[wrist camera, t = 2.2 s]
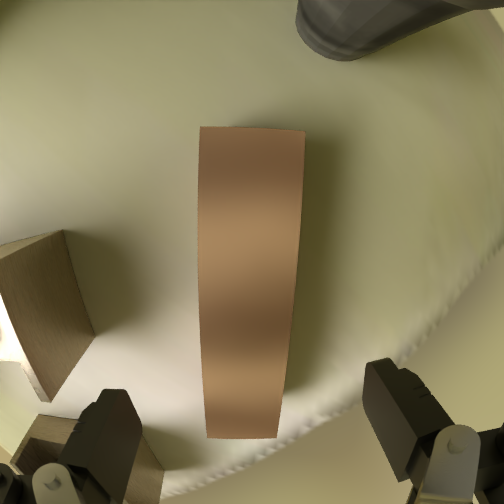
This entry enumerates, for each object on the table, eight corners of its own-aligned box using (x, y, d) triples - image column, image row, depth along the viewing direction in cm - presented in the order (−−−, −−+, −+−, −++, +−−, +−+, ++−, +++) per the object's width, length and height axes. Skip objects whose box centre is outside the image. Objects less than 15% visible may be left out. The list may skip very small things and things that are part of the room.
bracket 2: (164, 471, 21) (155, 528, 15) (72, 461, 21) (54, 507, 15) (135, 423, 19) (115, 490, 13) (38, 414, 19) (9, 462, 13)
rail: (209, 136, 15) (200, 126, 11) (288, 139, 15) (305, 131, 11) (210, 394, 19) (207, 438, 15) (269, 395, 19) (276, 437, 15)
